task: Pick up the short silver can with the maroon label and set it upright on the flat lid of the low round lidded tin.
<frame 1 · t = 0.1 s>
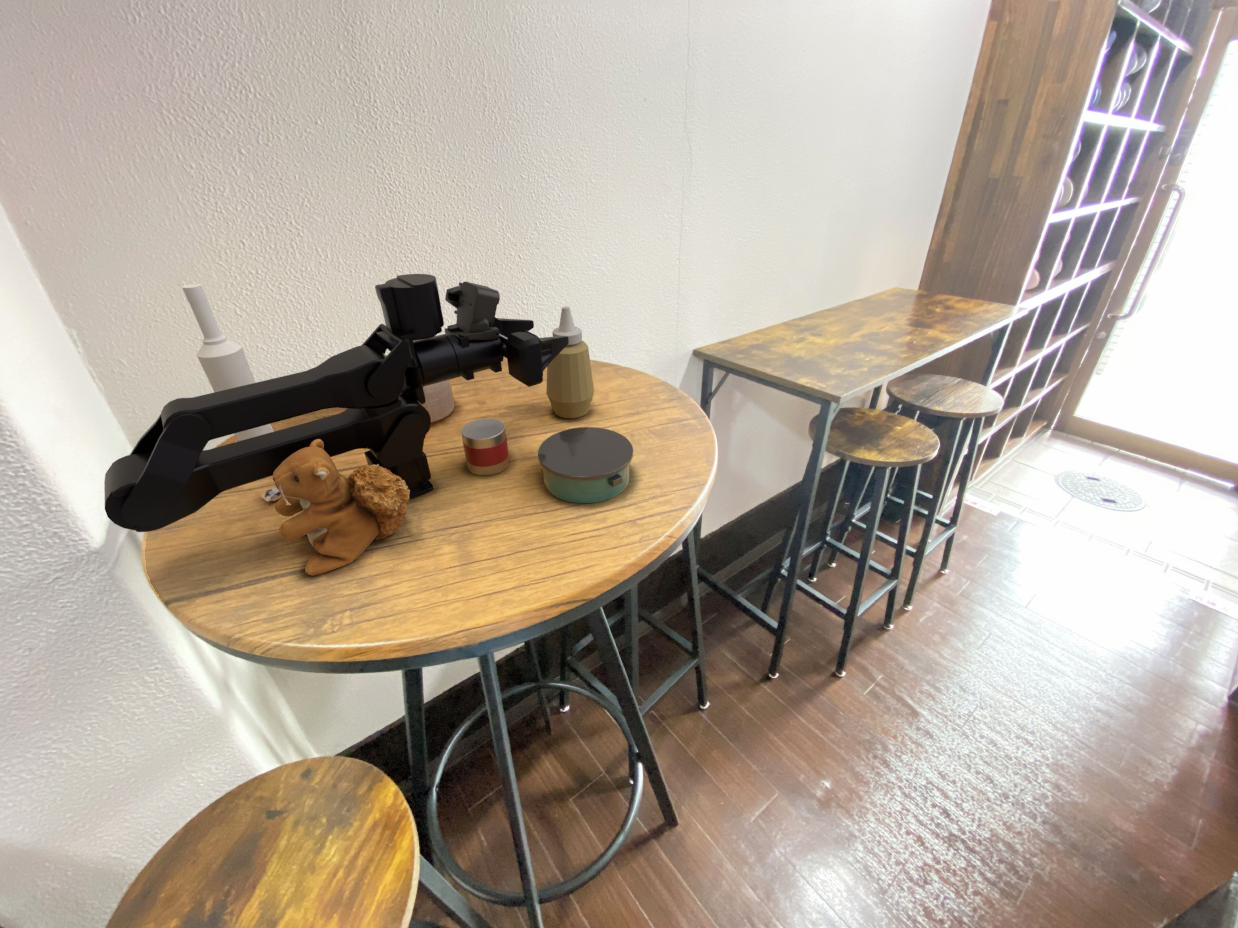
hand: (549, 331, 78), 17 cm above the table, tool horizontal, fingers open, 9 cm apart
round lidded tin: (586, 477, 75), on the table
bottle: (264, 455, 81), on the table
can: (488, 464, 78), on the table
squeeze bottle: (571, 412, 92), on the table
granola bar: (291, 491, 73), on the table
planter: (423, 413, 92), on the table
stuffed squirrel: (359, 540, 64), on the table
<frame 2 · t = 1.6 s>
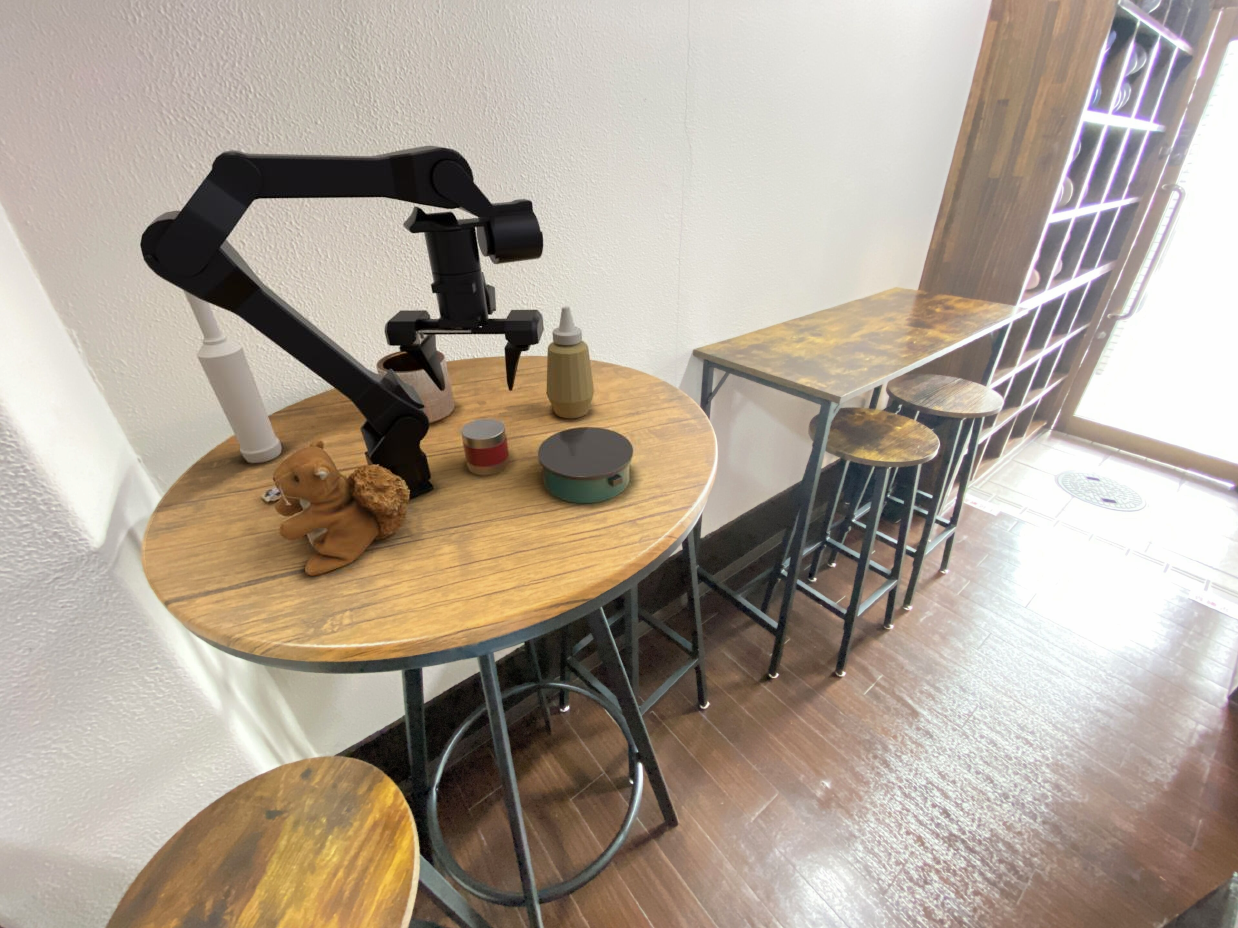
hand: (477, 389, 72), 12 cm above the table, tool pointing down, fingers open, 9 cm apart
nothing on the table moved.
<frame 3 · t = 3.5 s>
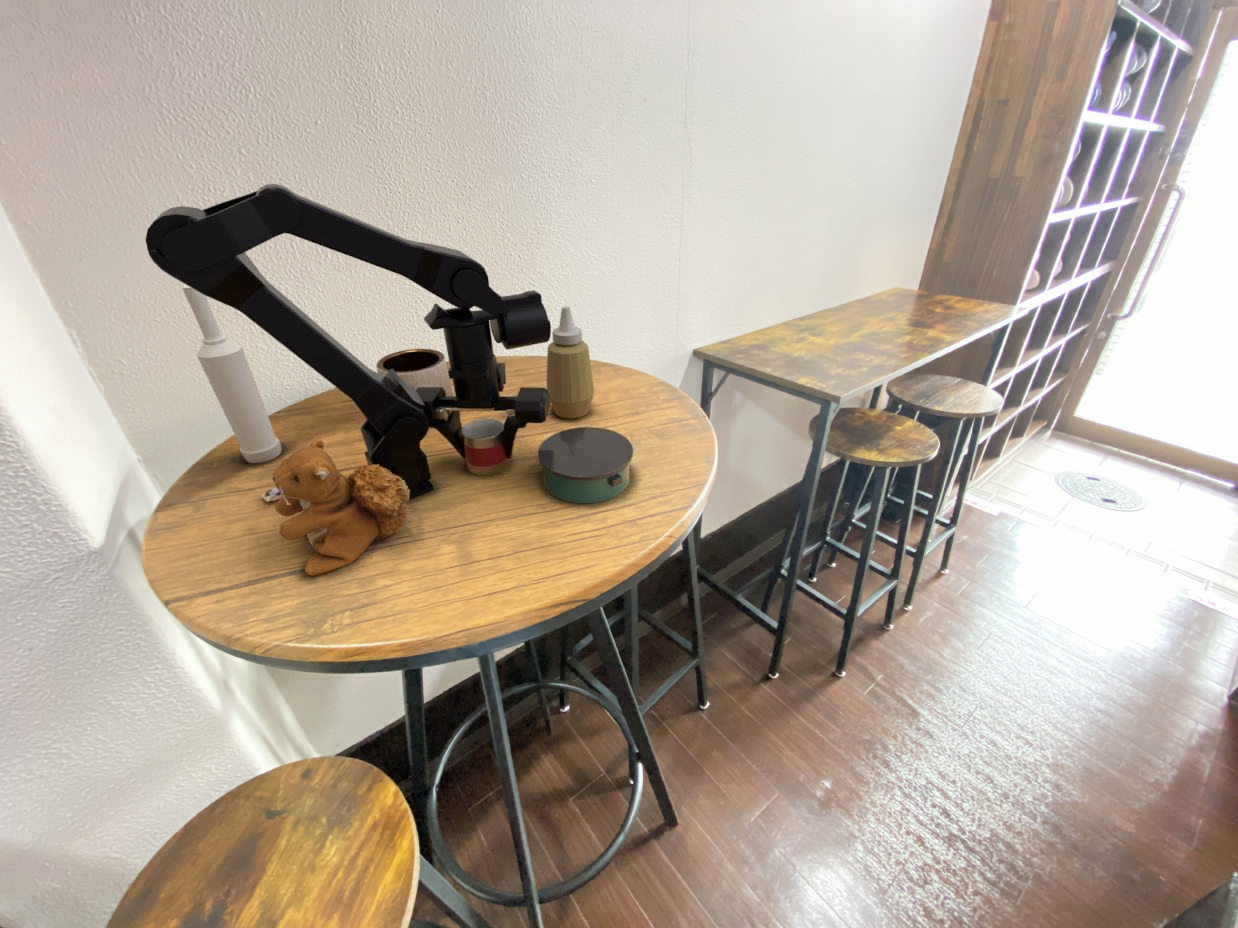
hand: (487, 457, 78), 1 cm above the table, tool pointing down, fingers closed on can, 6 cm apart
can: (488, 464, 78), on the table, touching gripper
everything else where it was.
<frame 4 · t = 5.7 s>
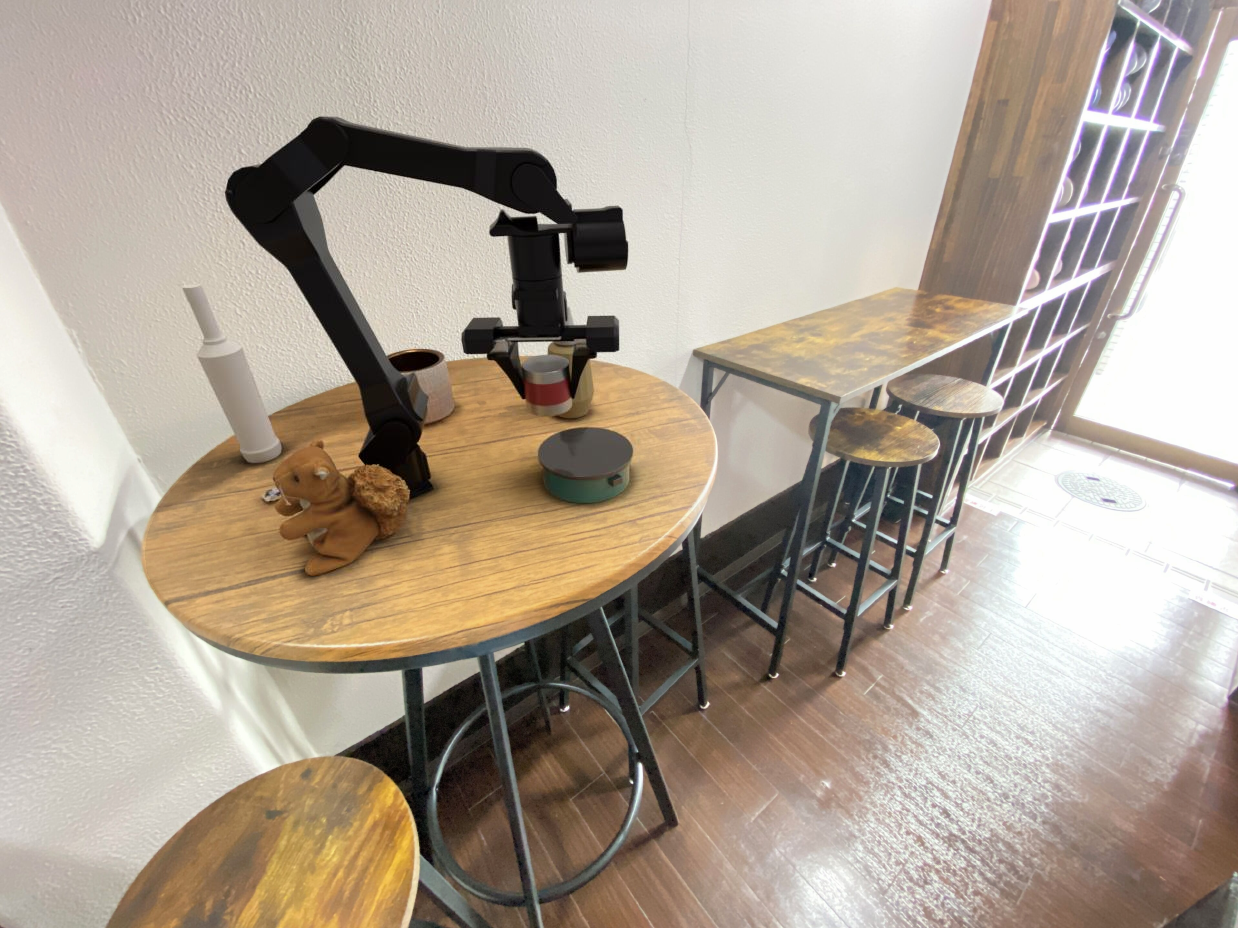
hand: (549, 397, 70), 12 cm above the table, tool pointing down, fingers closed on can, 6 cm apart
can: (549, 405, 71), point 11 cm above the table, touching gripper
everything else where it was.
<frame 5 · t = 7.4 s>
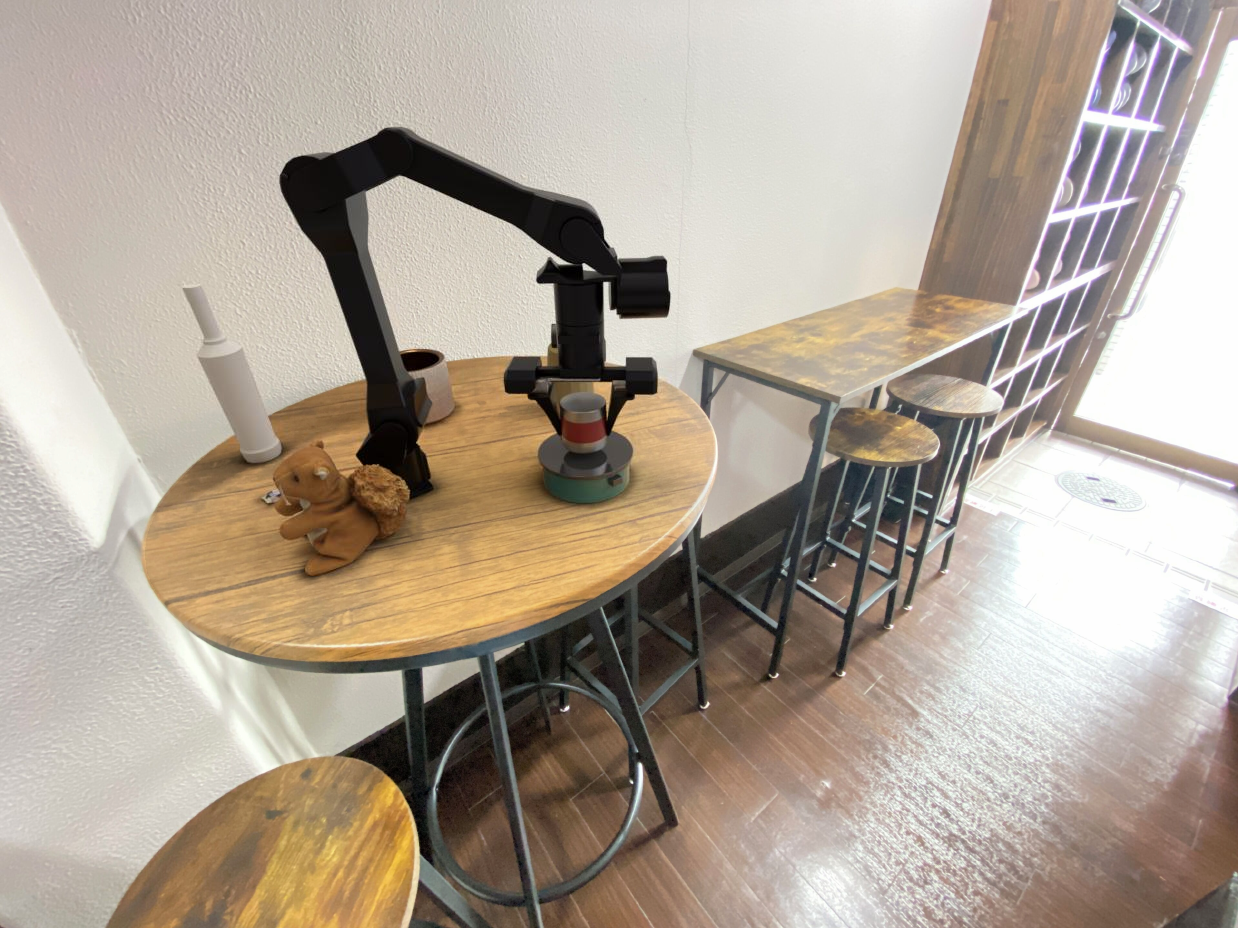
hand: (584, 434, 71), 7 cm above the table, tool pointing down, fingers closed on can, 6 cm apart
can: (584, 441, 72), point 6 cm above the table, touching gripper
everything else where it was.
when the fingers open (6 cm above the table, at t = 8.3 s): can stays where it is, resting on round lidded tin.
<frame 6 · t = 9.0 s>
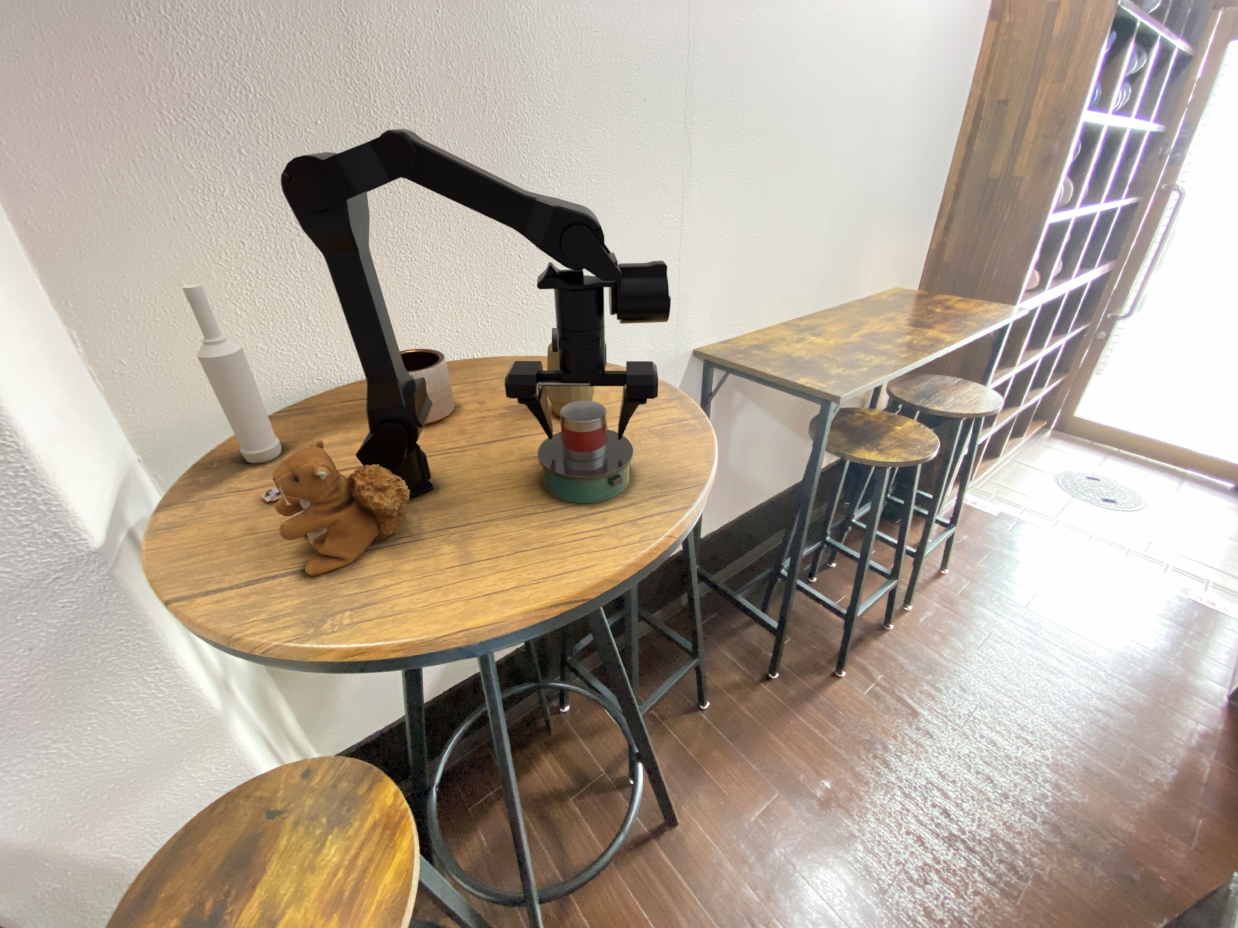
hand: (585, 438, 72), 6 cm above the table, tool pointing down, fingers open, 9 cm apart
can: (584, 449, 73), point 5 cm above the table, touching round lidded tin
everything else where it was.
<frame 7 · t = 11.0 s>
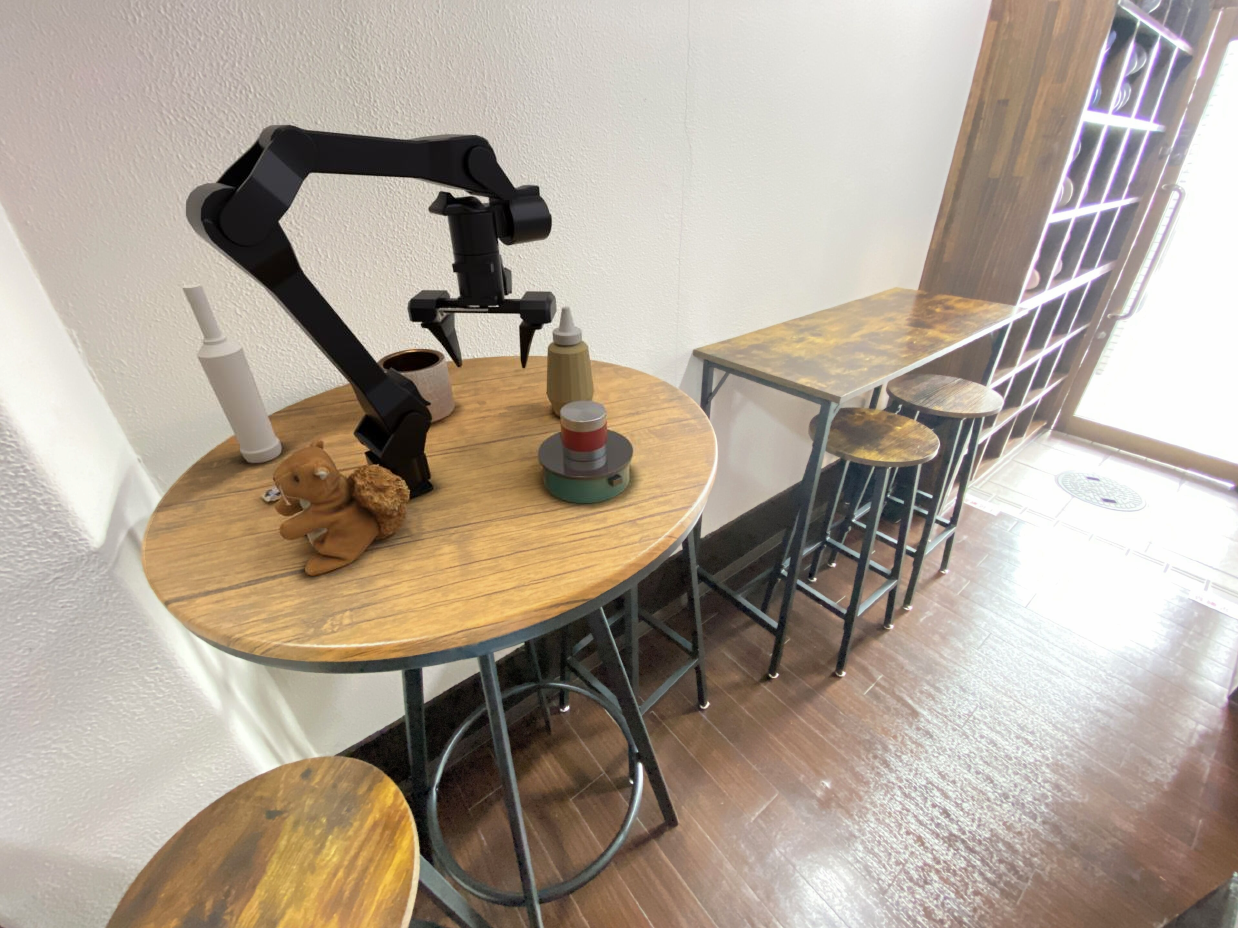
hand: (492, 367, 76), 13 cm above the table, tool pointing down, fingers open, 9 cm apart
nothing on the table moved.
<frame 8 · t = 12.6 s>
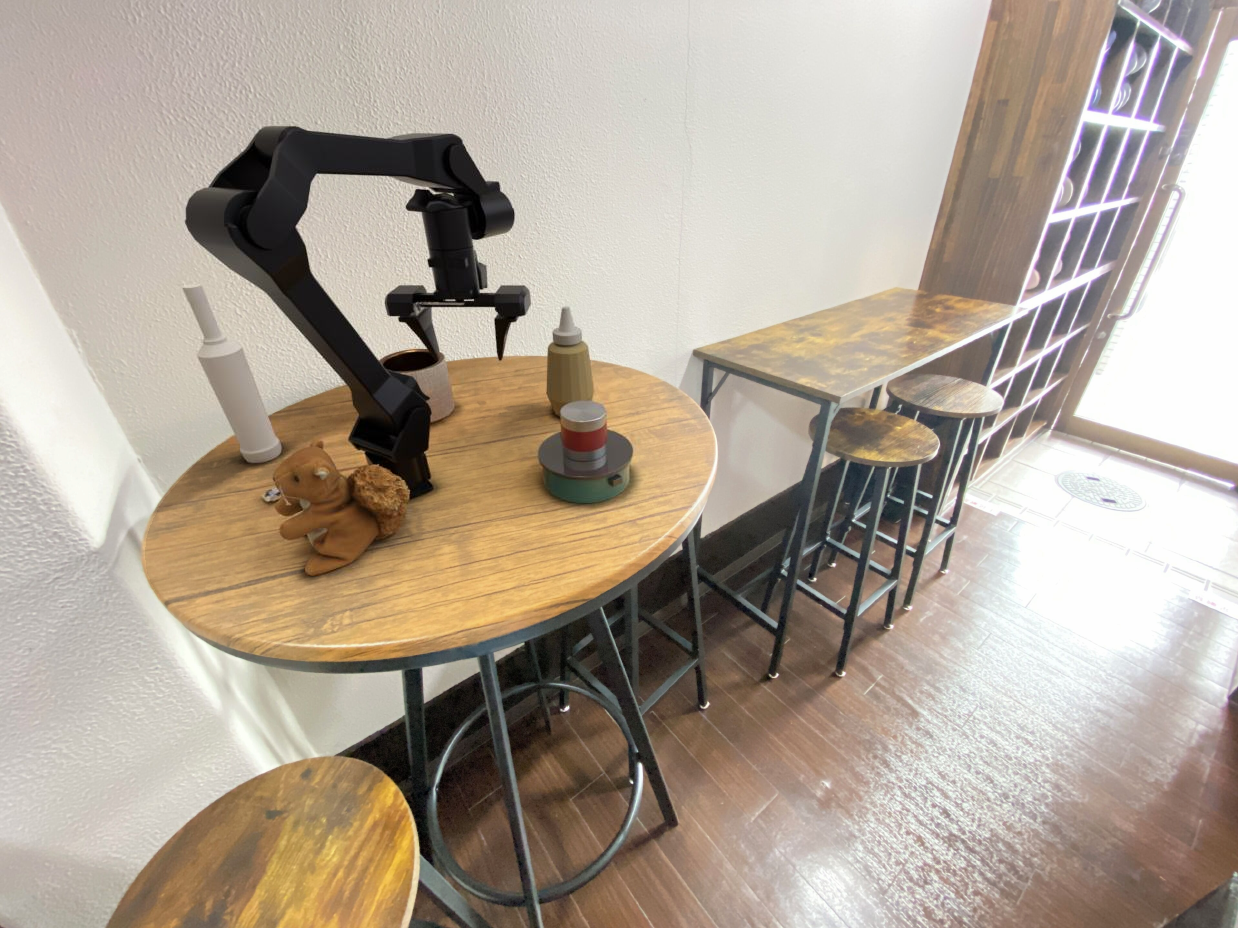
hand: (469, 359, 78), 13 cm above the table, tool pointing down, fingers open, 9 cm apart
nothing on the table moved.
at the end: can 0.1 cm off-centre on the round lidded tin, point 4.6 cm above the round lidded tin's base; can tilted 0°; the gripper is holding nothing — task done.
